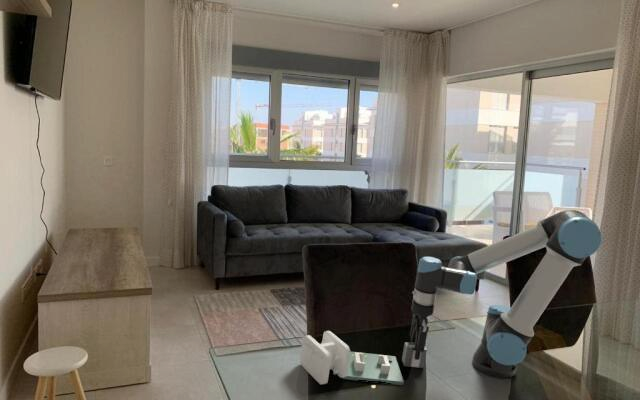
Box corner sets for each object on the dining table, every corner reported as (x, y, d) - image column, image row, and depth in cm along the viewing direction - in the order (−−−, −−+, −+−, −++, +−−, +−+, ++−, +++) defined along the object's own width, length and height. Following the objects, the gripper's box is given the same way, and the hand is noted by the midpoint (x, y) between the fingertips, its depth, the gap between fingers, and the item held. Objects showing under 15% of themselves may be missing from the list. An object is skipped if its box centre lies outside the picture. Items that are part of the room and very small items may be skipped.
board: (394, 359, 176) (396, 348, 175) (403, 385, 160) (405, 373, 159) (339, 353, 175) (341, 342, 174) (342, 378, 159) (344, 367, 158)
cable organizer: (348, 382, 158) (353, 349, 156) (320, 389, 153) (325, 355, 150) (323, 359, 171) (327, 328, 168) (297, 364, 165) (301, 333, 163)
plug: (421, 362, 176) (424, 342, 175) (423, 368, 172) (427, 348, 171) (401, 360, 176) (405, 340, 174) (403, 366, 172) (407, 346, 171)
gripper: (408, 290, 177) (398, 350, 182) (418, 310, 161) (407, 375, 166) (428, 292, 178) (418, 351, 182) (440, 312, 161) (429, 377, 166)
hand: (413, 362), depth 174 cm, fingers closed on plug, 4 cm apart
